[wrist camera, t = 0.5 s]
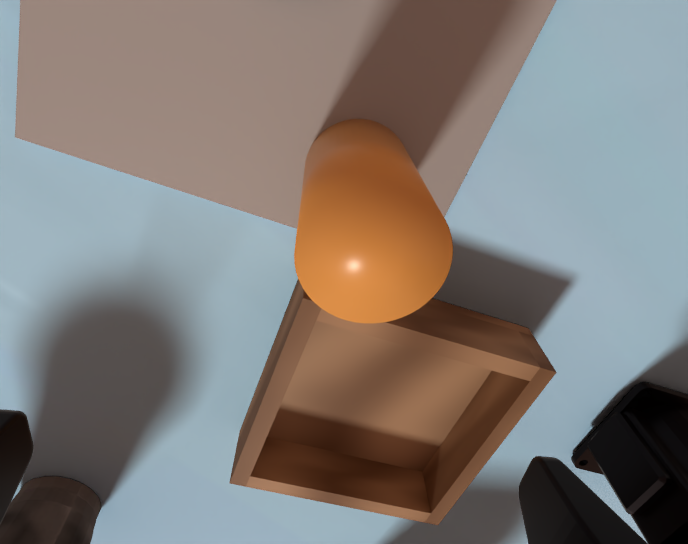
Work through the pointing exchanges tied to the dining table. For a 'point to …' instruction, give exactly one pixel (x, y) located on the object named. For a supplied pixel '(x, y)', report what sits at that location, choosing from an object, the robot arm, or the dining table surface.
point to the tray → (386, 406)
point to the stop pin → (368, 227)
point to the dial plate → (266, 86)
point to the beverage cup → (51, 513)
